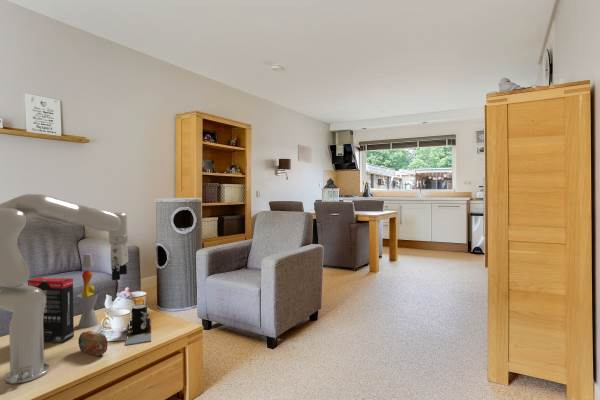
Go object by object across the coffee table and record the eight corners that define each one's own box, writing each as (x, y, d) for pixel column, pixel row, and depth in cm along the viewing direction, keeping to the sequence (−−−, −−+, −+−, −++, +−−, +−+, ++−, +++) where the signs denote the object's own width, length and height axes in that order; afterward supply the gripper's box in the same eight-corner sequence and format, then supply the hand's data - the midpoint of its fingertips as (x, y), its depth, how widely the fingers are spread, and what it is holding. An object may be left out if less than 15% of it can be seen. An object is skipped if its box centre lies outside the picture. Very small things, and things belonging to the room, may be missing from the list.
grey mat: (151, 341, 151) (151, 340, 151) (125, 345, 147) (125, 344, 147) (151, 333, 159) (151, 332, 159) (126, 337, 155) (126, 336, 155)
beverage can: (137, 335, 157) (137, 309, 157) (128, 332, 160) (128, 306, 160) (150, 330, 163) (149, 305, 162) (141, 327, 166) (141, 303, 166)
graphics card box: (75, 337, 155) (74, 277, 155) (63, 344, 148) (62, 280, 148) (40, 335, 157) (39, 276, 156) (26, 342, 150) (25, 279, 149)
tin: (77, 351, 142) (77, 330, 141) (85, 348, 144) (85, 328, 144) (101, 358, 135) (101, 337, 135) (109, 355, 138) (109, 334, 138)
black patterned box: (151, 333, 159) (151, 325, 159) (126, 337, 155) (126, 328, 155) (151, 326, 168) (151, 317, 168) (128, 329, 164) (128, 320, 164)
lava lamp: (88, 328, 165) (87, 255, 164) (72, 327, 167) (72, 255, 166) (103, 322, 173) (102, 252, 173) (88, 320, 176) (87, 252, 175)
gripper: (121, 242, 149) (122, 281, 150) (132, 236, 166) (133, 271, 167) (102, 243, 148) (103, 282, 149) (115, 237, 165) (117, 272, 166)
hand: (119, 277), depth 158 cm, fingers open, 9 cm apart
